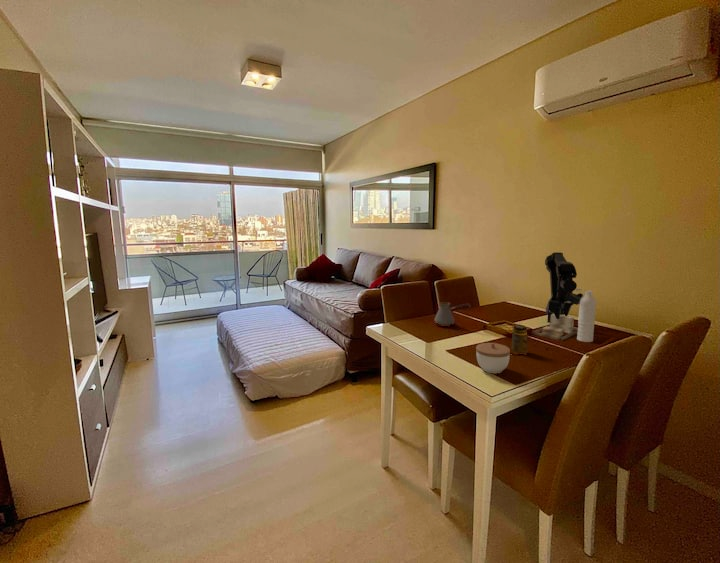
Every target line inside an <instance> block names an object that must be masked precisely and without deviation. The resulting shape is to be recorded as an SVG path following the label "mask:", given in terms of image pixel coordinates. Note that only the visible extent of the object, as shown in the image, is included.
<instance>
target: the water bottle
mask: <svg viewBox="0 0 720 563" xmlns="http://www.w3.org/2000/svg"><path fill="white" fill-rule="evenodd" d="M575 292H579V293H580V292H583V289H581V288H576V289H575ZM592 293H593V292H592V290H585V293H584V294H583V297H582V298H581V299H580V304H578V305H579V307H578V308H579V309H578V316H577V317H578V318H577V319H578V321H577V328H578V332H577V334H576V335H577V336H576V340H577V341H579V342H582V343H583V342H584V343H591V342H594V332H595V331H594V330H595V321H596V320H595V319H596V309H597V308H596V305H597V299H596V298H595V297H594V295H593V294H592Z"/></svg>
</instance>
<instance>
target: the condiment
mask: <svg viewBox="0 0 720 563" xmlns="http://www.w3.org/2000/svg"><path fill="white" fill-rule="evenodd" d="M513 326H514V325H513ZM527 328H528V327H527V326H525V325H522V324H519V325H517V324H515V326H514V327H513V331H512V336H511V349H512V350H513V351H515V352H518V353H525V352H526V351H527V348H528V346H527V344H528V333H527Z"/></svg>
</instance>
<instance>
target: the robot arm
mask: <svg viewBox="0 0 720 563" xmlns="http://www.w3.org/2000/svg"><path fill="white" fill-rule="evenodd" d="M544 265H545V267H546V268H545V269H546V270H547V271H548V273H549V282H550V298H549V299H548V302H547V304H546V307H545V313H546V314H547V322H546V323H549V324H550V319H551V314H555V317H556V319H559V317H560V315H564V316H569V313H570V311H571V308H572V306H574V305H576V306H578V305H580V299H581V298H582V297H583V295H584V294H583V293H580V292H579V293H577V294H576V293H573V292H574V291H576V289H577V287H578V286H577V285H578V284H577V282H575V280H573V279H576V278H577V276H578V274H577V270H576V267H575V265H574V263H573V262H571V261H567V259H566V258H565V256H564V253H563V252H561V251H559V252H557V251H556V252H552V253H551V254H549V255H547V256H545V260H544Z"/></svg>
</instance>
